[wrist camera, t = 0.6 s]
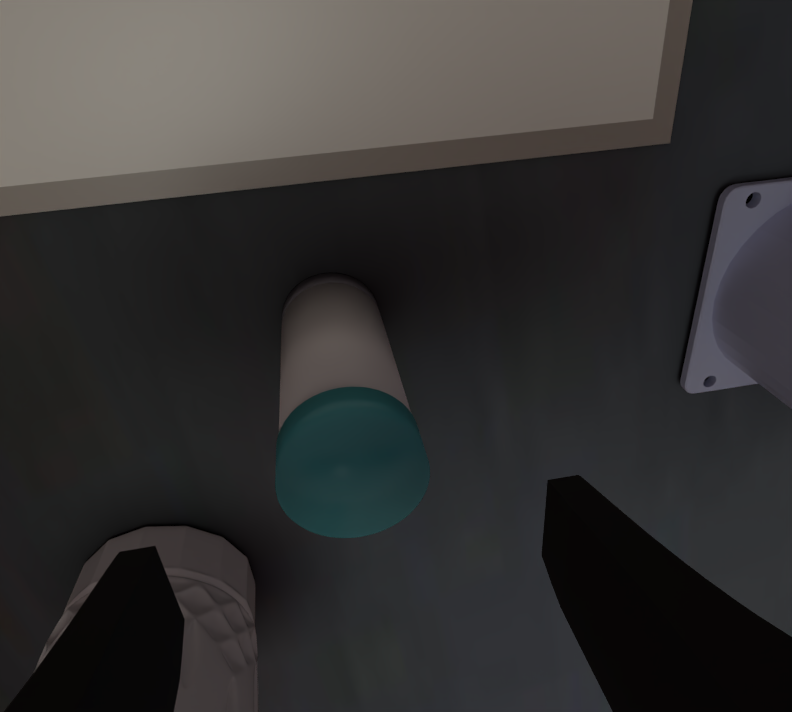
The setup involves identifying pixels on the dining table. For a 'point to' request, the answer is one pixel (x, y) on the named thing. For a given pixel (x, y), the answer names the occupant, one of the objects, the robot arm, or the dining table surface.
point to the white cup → (194, 613)
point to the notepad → (317, 90)
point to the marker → (343, 415)
